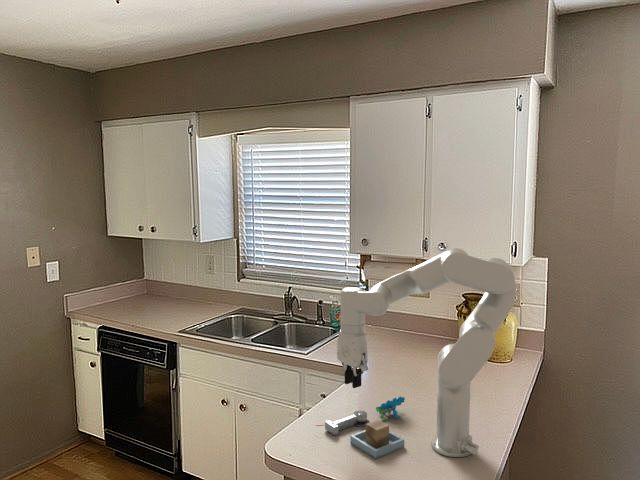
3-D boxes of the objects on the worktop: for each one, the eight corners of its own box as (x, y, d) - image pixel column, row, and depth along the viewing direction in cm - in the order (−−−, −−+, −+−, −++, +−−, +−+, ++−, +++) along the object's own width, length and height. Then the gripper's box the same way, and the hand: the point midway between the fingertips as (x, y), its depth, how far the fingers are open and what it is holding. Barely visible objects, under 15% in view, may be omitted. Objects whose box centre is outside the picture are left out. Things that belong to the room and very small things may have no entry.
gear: (399, 402, 186) (406, 391, 179) (406, 418, 183) (414, 408, 175) (371, 412, 183) (377, 401, 175) (378, 428, 180) (385, 418, 172)
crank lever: (360, 416, 179) (360, 409, 178) (370, 421, 175) (370, 414, 174) (325, 429, 170) (324, 421, 170) (334, 435, 166) (334, 427, 166)
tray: (404, 447, 159) (404, 439, 159) (375, 459, 152) (375, 451, 152) (378, 432, 169) (378, 424, 168) (350, 443, 162) (350, 435, 162)
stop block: (389, 444, 160) (389, 425, 159) (376, 449, 157) (376, 430, 156) (377, 437, 164) (377, 419, 163) (365, 442, 161) (365, 423, 160)
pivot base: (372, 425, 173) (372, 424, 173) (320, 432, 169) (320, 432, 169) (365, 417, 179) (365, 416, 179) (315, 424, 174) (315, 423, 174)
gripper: (327, 324, 166) (327, 379, 168) (360, 336, 153) (360, 396, 155) (345, 320, 170) (346, 374, 173) (379, 331, 157) (379, 390, 159)
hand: (353, 384), depth 164 cm, fingers open, 3 cm apart
